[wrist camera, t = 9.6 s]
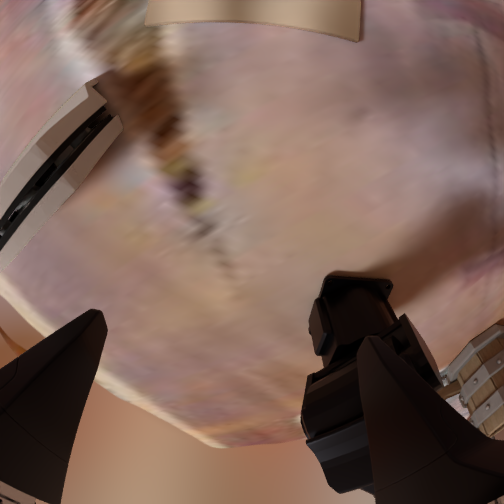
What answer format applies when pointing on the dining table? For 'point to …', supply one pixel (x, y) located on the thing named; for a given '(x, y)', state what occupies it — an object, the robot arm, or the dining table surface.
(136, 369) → the dining table surface
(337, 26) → the ring holder
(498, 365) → the tankard
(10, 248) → the grey piece
